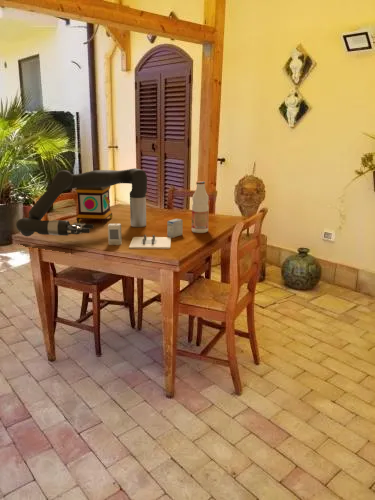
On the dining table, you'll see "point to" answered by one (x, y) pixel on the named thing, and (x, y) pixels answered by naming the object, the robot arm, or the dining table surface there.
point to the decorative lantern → (93, 203)
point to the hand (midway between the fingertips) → (91, 228)
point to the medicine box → (174, 228)
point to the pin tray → (150, 242)
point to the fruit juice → (200, 209)
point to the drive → (114, 234)
